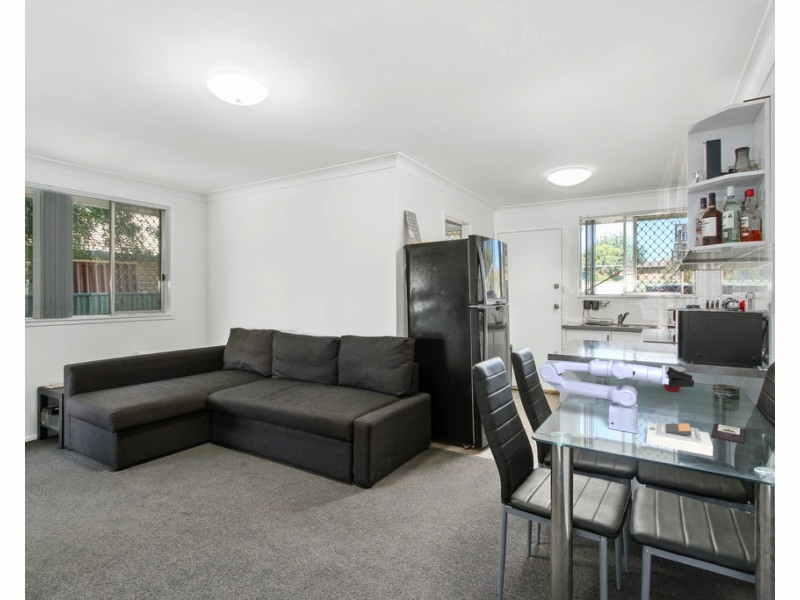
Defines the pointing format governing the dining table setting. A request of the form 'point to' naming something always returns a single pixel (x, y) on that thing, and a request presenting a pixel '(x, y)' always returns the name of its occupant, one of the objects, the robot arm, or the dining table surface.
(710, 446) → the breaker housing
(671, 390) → the plastic cup
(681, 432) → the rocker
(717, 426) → the chocolate bar
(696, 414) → the dining table surface
